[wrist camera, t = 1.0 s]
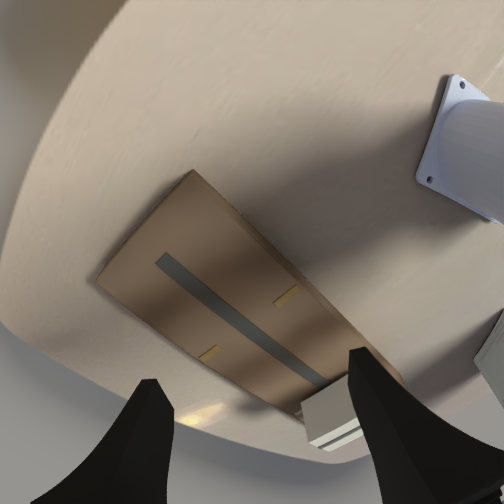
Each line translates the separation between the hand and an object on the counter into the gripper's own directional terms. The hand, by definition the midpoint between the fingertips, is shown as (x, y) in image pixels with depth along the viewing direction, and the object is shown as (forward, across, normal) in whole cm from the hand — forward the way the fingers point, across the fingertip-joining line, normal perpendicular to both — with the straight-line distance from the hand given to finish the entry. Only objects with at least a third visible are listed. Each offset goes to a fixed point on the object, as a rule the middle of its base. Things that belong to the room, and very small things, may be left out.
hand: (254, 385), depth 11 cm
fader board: (+10, -1, +7) cm, 13 cm away
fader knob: (+8, -5, +13) cm, 16 cm away
